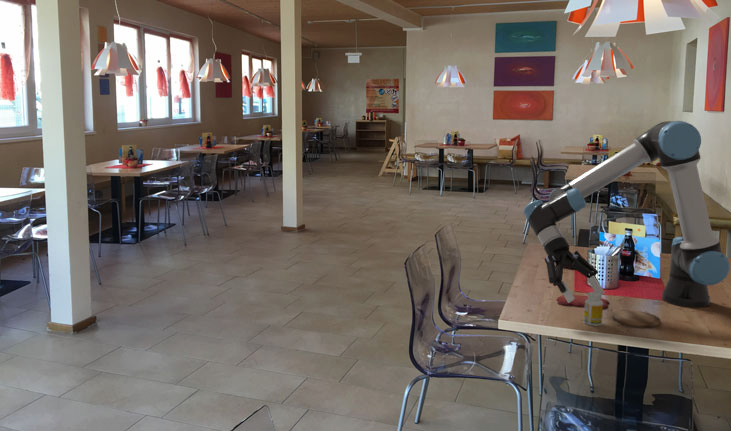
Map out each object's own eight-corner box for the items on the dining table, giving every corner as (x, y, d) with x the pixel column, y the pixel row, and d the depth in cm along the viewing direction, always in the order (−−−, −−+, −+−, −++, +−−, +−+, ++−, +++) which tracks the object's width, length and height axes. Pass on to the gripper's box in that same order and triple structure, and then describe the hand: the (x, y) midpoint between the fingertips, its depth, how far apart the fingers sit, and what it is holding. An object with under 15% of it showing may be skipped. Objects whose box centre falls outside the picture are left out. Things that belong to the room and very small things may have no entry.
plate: (639, 312, 206) (639, 308, 206) (669, 325, 192) (670, 321, 192) (602, 315, 202) (603, 311, 202) (631, 329, 189) (632, 324, 189)
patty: (554, 306, 213) (554, 300, 213) (558, 295, 226) (558, 290, 225) (608, 312, 206) (609, 307, 206) (609, 301, 219) (610, 296, 219)
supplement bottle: (580, 323, 194) (582, 293, 192) (587, 319, 198) (589, 290, 196) (597, 327, 190) (599, 297, 189) (604, 323, 194) (606, 293, 192)
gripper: (573, 245, 214) (605, 298, 204) (519, 252, 202) (551, 309, 191) (586, 233, 209) (620, 286, 198) (532, 239, 196) (565, 297, 186)
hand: (586, 298), depth 195 cm, fingers open, 13 cm apart
